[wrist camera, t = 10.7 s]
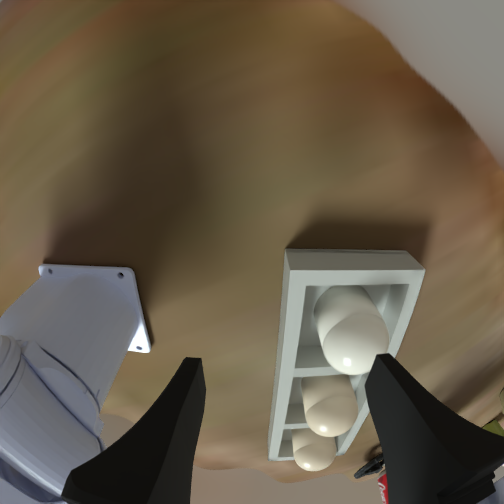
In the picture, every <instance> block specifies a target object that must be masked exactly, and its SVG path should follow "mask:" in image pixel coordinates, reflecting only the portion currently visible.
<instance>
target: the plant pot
mask: <svg viewBox="0 0 504 504" xmlns="http://www.w3.org/2000/svg"><path fill="white" fill-rule="evenodd" d="M483 429H485V430H487V431H490V432H492V433H495V434H498V435H501V436H504V430H503V428H502V427H501V426H500V424H499V423H498V422H497V420H493V421H492V422H491V423H489V424H486V425H485V426H484V427H483Z"/></svg>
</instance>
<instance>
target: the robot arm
mask: <svg viewBox="0 0 504 504" xmlns="http://www.w3.org/2000/svg"><path fill="white" fill-rule="evenodd" d="M51 270H52V271H51ZM119 272H120V273H122V274H123V275H124V276H121V275H120V273H119ZM39 273H40V276H41V277H40V278H39V279H38V280H37V281H36V282H35V283H34V284H33V285H31V286H30V287H29V288H28V289H27V290H26V291H25V292H24V293H23V294H22V295H21V296H20V297H19V298H18V299H17V300H16V301H15V302H14V303H13V304H12V305H11V306H10V307H9V308H8V309H7V310H6V311H5V312H4V314H3V315H2V316H1V318H0V504H190V494H191V479H192V469H193V461H194V455H195V450H196V445H197V441H198V436H199V432H200V427H201V423H202V418H203V413H204V406H205V396H206V386H205V380H204V373H203V367H202V360H201V358H191V357H186V358H185V359H184V360H183V362H182V363H181V365H180V367H179V368H178V370H177V372H176V373H175V375H174V376H173V378H172V379H171V381H170V382H169V384H168V385H167V386H166V388H165V389H164V391H163V392H162V393H161V395H160V396H159V397H158V399H157V400H156V401H155V402H154V404H153V405H152V406H151V407H150V408H149V410H148V411H147V412H146V413H145V414H144V415H143V416H142V418H141V419H140V420H139V421H138V422H137V423H136V424H135V425H134V426H133V427H132V428H131V429H130V430H129V431H127V432H126V433H125V434H124V435H123V436H122V437H121V438H120V439H119V440H117V441H116V442H115V443H113V444H112V445H111V446H110V447H108V448H107V447H106V445H105V443H104V441H103V440H102V439H101V438H100V434H101V431H102V429H103V426H104V423H103V422H102V421H101V419H100V418H99V413H100V411H101V408H102V406H103V404H104V401H105V399H106V397H107V395H108V392H109V390H110V388H111V385H112V383H113V381H114V379H115V377H116V374H117V372H118V370H119V368H120V366H121V364H122V361H123V359H124V357H125V355H126V353H127V351H128V350H129V351H137V352H145V353H148V352H150V350H151V344H150V340H149V336H148V333H147V329H146V325H145V321H144V316H143V312H142V308H141V303H140V299H139V294H138V289H137V284H136V279H135V274H134V271H133V270H132V269H130V268H127V267H102V266H78V265H57V264H41V265H40V266H39ZM139 346H140V347H139ZM364 387H365V392H366V398H367V402H368V407H369V410H370V413H371V416H372V419H373V422H374V425H375V428H376V431H377V434H378V437H379V441H380V444H381V447H382V451H383V456H384V462H385V469H386V477H387V486H388V504H504V477H502V478H501V479H499V480H498V481H496V482H495V483H493V481H492V479H493V478H495V474H494V472H493V471H495V470H496V469H497V468H498V467H500V466H501V465H502V464H503V463H504V436H501V435H498V434H495V433H492V432H490V431H487V430H485V429H483V428H481V427H479V426H477V425H475V424H473V423H471V422H469V421H467V420H466V419H464V418H462V417H461V416H459V415H458V414H456V413H455V412H453V411H452V410H450V409H449V408H448V407H446V406H445V405H444V404H442V403H441V402H440V401H439V400H437V399H436V398H435V397H434V396H433V395H432V394H430V393H429V392H428V391H427V390H426V389H425V388H424V387H423V386H422V385H421V384H420V383H419V382H418V381H417V380H416V379H415V378H414V377H413V376H412V375H411V374H410V373H409V372H408V371H407V370H406V369H405V368H404V367H403V366H402V365H401V364H400V363H399V362H398V361H397V360H396V359H395V358H394V357H393V356H392V355H391V354H390V353H384V354H377V355H376V357H375V360H374V362H373V365H372V368H371V370H370V373H369V375H368V377H367V380H366V382H365V385H364Z"/></svg>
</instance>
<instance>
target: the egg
mask: <svg viewBox="0 0 504 504" xmlns="http://www.w3.org/2000/svg"><path fill="white" fill-rule="evenodd" d="M313 315H314V320H315V323H316V327H317V331H318V334H319V338H320V342H321V346H322V350H323V353H324V356H325V358H326V360H327V361H328V363H329V364H330V365H331V366H332V367H333V368H334V369H335V370H337V371H339V372H341V373H343V374H347V375H361V374H364V373H367V372H369V371H370V370H371V368H372V365H373V362H374V360H375V357H376V355H377V354H384V353H387V351H388V348H389V341H390V340H389V331H388V328H387V325H386V323H385V321H384V320H383V318H382V316H381V314H380V313H379V311H378V309H377V307H376V306H375V304H374V302H373V301H372V299H371V297H370V296H369V294H368V292H367V291H366V290H365V289H364V288H363V287H361V286H359V285H336V286H333V287H331V288H329V289H328V290H326V291H325V292H324V293H323V294H322V295H321V296H320V297H319V298H318V300H317V302H316V303H315V306H314V310H313Z"/></svg>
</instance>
